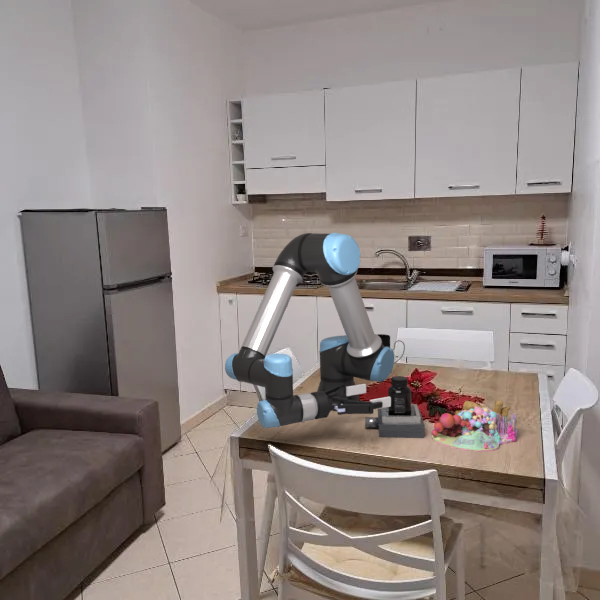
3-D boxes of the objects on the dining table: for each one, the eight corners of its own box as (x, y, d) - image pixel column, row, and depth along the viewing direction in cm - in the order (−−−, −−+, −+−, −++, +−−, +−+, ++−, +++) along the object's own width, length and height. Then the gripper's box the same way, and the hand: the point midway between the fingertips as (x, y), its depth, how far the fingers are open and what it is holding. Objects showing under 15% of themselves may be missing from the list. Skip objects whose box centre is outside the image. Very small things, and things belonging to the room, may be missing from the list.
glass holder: (373, 368, 235) (373, 333, 233) (407, 370, 229) (407, 335, 227) (367, 373, 227) (367, 337, 225) (402, 376, 221) (402, 340, 219)
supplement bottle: (415, 415, 168) (415, 377, 166) (403, 422, 163) (403, 383, 161) (396, 410, 172) (396, 373, 171) (383, 417, 167) (383, 378, 166)
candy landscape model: (439, 416, 179) (439, 389, 177) (517, 424, 170) (518, 395, 169) (427, 447, 156) (427, 415, 154) (517, 458, 147) (518, 425, 146)
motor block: (365, 436, 163) (365, 417, 162) (365, 420, 176) (364, 402, 175) (424, 438, 161) (424, 418, 160) (419, 421, 174) (419, 403, 173)
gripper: (294, 405, 167) (356, 394, 175) (332, 434, 144) (401, 420, 152) (294, 381, 165) (356, 371, 174) (332, 406, 143) (401, 394, 151)
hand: (377, 394), depth 163 cm, fingers open, 13 cm apart
